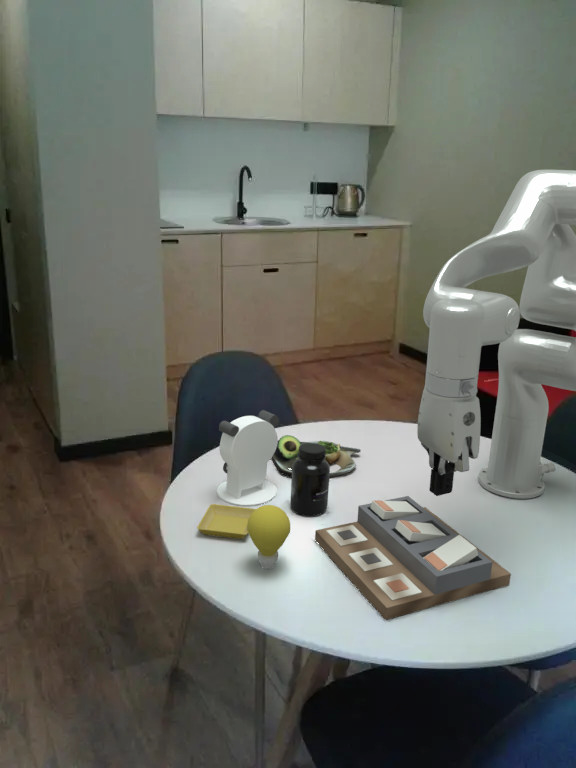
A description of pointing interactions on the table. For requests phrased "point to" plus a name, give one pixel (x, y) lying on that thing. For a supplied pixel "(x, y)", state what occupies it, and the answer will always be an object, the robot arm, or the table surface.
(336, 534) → the board
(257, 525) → the light bulb
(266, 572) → the table surface
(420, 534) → the rocker
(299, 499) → the supplement bottle
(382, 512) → the rocker
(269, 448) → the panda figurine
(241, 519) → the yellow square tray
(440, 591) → the switch housing
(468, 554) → the rocker
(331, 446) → the salad plate
